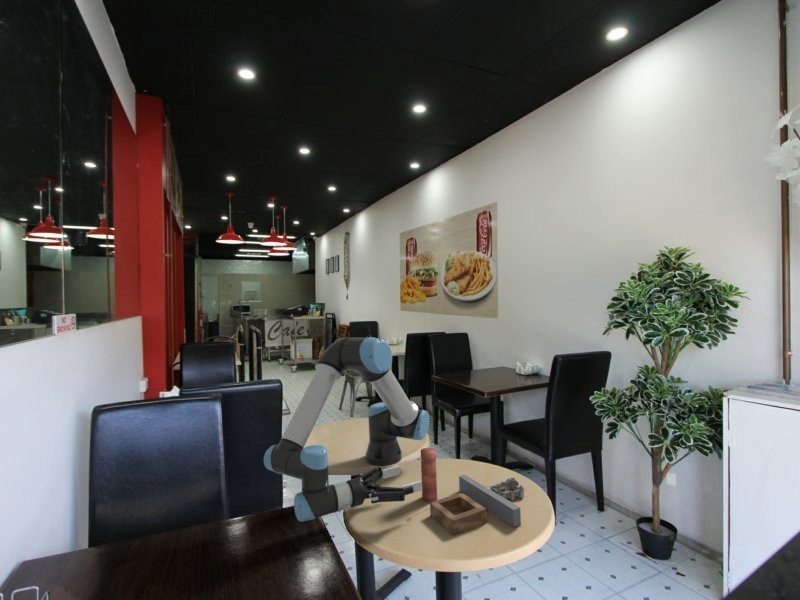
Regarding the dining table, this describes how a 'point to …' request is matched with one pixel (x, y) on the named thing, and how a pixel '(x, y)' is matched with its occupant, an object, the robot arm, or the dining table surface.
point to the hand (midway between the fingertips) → (409, 477)
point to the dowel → (428, 474)
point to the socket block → (460, 522)
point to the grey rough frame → (504, 488)
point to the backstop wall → (490, 500)
